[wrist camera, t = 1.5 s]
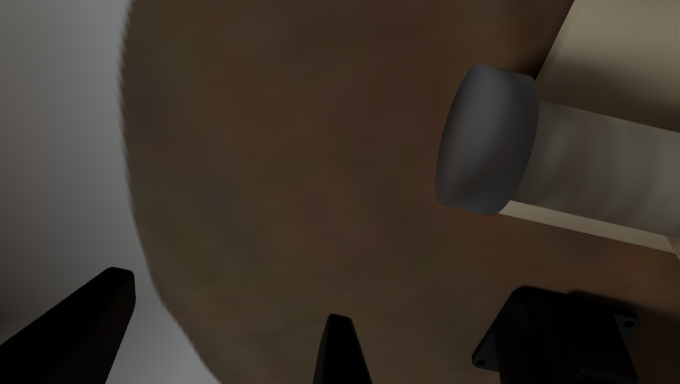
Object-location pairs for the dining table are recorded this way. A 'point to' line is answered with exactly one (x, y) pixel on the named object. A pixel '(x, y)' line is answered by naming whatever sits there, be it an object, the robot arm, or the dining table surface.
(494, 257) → the dining table surface
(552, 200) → the shaft
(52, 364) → the robot arm
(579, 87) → the bench
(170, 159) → the dining table surface
